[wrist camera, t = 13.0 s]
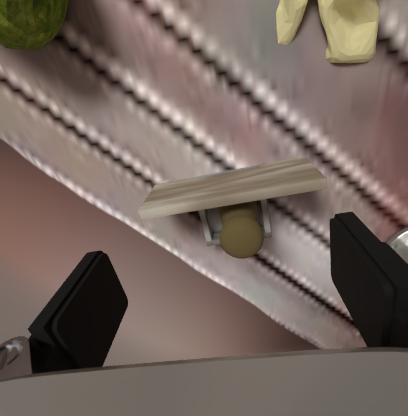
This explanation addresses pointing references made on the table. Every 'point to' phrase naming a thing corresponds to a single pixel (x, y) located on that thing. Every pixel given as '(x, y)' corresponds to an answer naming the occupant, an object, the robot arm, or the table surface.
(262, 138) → the table surface
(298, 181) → the wall board holder
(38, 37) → the lettuce
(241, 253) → the olive rounded piece
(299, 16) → the cloth
